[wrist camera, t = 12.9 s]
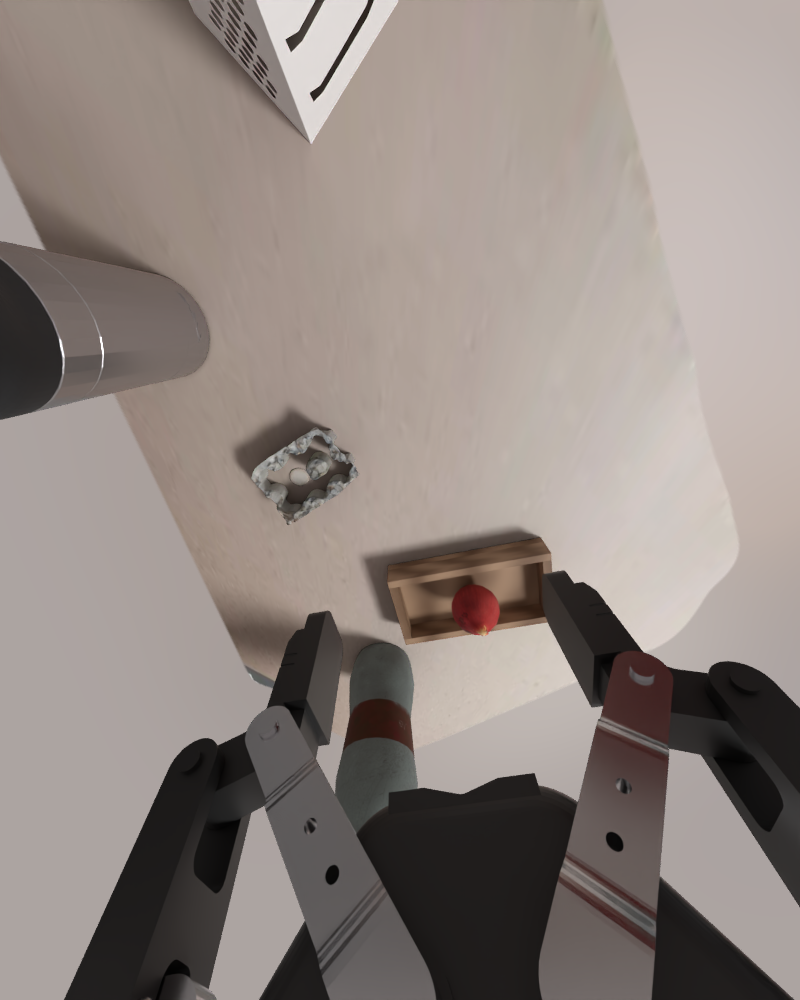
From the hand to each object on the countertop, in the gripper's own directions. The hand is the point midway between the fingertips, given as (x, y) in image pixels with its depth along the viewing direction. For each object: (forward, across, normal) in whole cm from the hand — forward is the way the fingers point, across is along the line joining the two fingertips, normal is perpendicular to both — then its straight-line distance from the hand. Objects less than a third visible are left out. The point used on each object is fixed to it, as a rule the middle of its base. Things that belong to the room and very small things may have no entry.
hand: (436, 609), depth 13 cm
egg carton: (+29, +12, +3) cm, 32 cm away
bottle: (+29, +11, +36) cm, 47 cm away
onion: (+28, -4, +24) cm, 37 cm away
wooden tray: (+28, -4, +24) cm, 37 cm away
